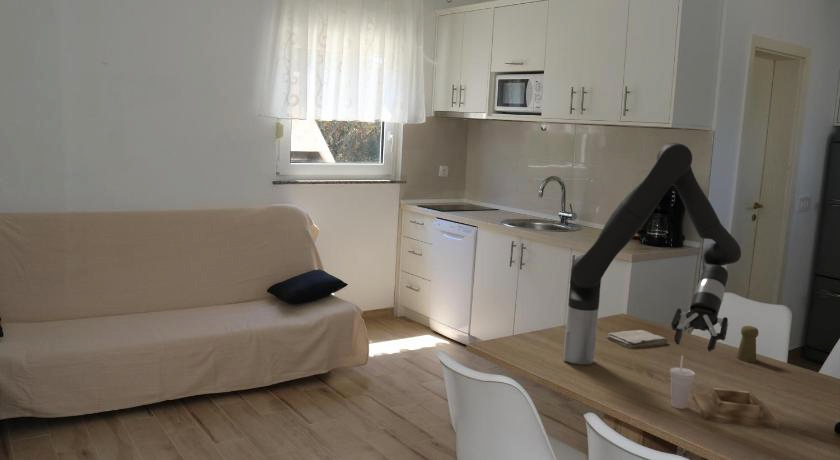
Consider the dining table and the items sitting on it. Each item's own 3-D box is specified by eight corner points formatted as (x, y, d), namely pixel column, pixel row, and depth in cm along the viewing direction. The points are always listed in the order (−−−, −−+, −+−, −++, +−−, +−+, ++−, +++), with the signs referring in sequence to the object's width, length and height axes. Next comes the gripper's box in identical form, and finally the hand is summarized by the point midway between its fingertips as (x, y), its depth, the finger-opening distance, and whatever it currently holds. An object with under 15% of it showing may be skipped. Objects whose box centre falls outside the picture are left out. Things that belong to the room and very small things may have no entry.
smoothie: (662, 401, 197) (667, 351, 195) (684, 401, 198) (690, 352, 195) (672, 410, 191) (678, 359, 189) (695, 411, 191) (701, 360, 189)
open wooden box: (704, 420, 186) (706, 404, 185) (692, 397, 201) (693, 382, 201) (779, 428, 183) (781, 412, 182) (760, 404, 198) (762, 390, 198)
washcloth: (604, 340, 252) (605, 331, 252) (642, 335, 261) (643, 327, 260) (628, 350, 242) (629, 341, 242) (667, 345, 251) (668, 336, 250)
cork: (758, 363, 235) (762, 330, 233) (738, 360, 236) (742, 328, 234) (753, 357, 241) (757, 325, 239) (734, 355, 242) (738, 323, 240)
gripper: (680, 286, 208) (665, 333, 200) (733, 295, 200) (719, 345, 192) (683, 301, 213) (668, 347, 205) (735, 310, 205) (721, 359, 197)
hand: (693, 346), depth 199 cm, fingers open, 8 cm apart
